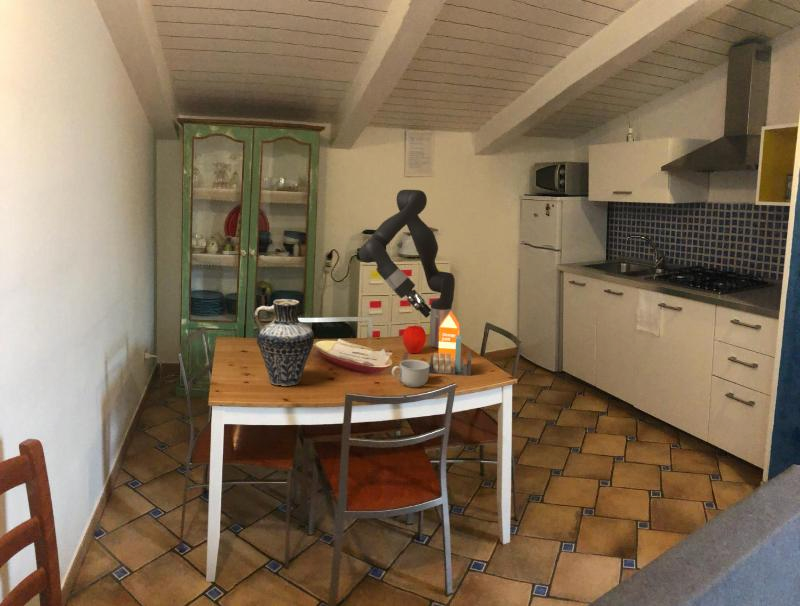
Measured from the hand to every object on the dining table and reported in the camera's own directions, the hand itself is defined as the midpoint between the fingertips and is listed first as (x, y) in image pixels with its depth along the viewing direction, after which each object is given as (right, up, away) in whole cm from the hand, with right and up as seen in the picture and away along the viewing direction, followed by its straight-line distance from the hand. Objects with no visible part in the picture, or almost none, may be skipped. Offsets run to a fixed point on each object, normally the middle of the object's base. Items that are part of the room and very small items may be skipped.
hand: (428, 314), depth 255 cm
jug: (-52, -25, -16) cm, 60 cm away
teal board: (+11, -22, +3) cm, 24 cm away
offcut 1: (+3, -21, +4) cm, 22 cm away
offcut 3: (+7, -21, +3) cm, 23 cm away
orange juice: (+9, -19, +21) cm, 30 cm away
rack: (+3, -22, +4) cm, 23 cm away
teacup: (-8, -26, -14) cm, 30 cm away
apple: (-5, -17, +30) cm, 35 cm away
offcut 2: (+5, -21, +3) cm, 22 cm away
